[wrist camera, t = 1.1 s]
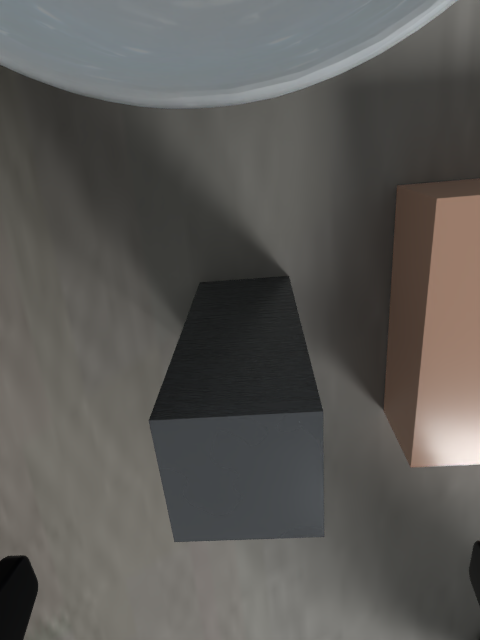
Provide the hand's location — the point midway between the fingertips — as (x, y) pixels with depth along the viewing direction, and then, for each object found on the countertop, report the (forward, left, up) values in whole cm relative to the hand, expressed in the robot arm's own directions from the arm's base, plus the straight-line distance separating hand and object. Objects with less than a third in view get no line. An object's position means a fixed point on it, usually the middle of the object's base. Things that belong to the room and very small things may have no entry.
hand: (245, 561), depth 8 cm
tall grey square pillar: (0, 0, -12) cm, 12 cm away
